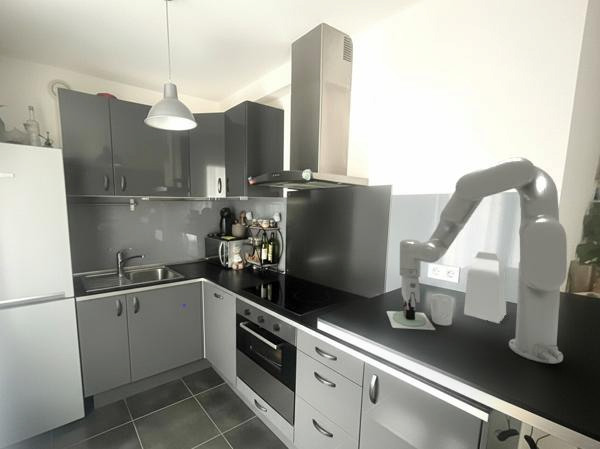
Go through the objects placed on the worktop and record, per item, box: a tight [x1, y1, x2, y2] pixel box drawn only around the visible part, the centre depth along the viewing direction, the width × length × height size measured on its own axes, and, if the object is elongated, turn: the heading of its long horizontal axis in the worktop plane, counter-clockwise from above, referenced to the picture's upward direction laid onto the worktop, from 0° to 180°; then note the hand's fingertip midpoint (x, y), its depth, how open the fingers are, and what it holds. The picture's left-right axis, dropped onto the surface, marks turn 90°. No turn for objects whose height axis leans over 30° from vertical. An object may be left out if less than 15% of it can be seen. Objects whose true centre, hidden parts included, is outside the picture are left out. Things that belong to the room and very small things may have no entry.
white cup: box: [430, 293, 455, 326], centre depth 104 cm, size 8×8×10 cm
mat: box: [386, 310, 436, 331], centre depth 107 cm, size 15×15×1 cm
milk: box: [463, 250, 507, 324], centre depth 110 cm, size 12×12×26 cm
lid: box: [393, 305, 426, 327], centre depth 107 cm, size 12×12×5 cm
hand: (409, 316), depth 107 cm, fingers closed on lid, 3 cm apart
